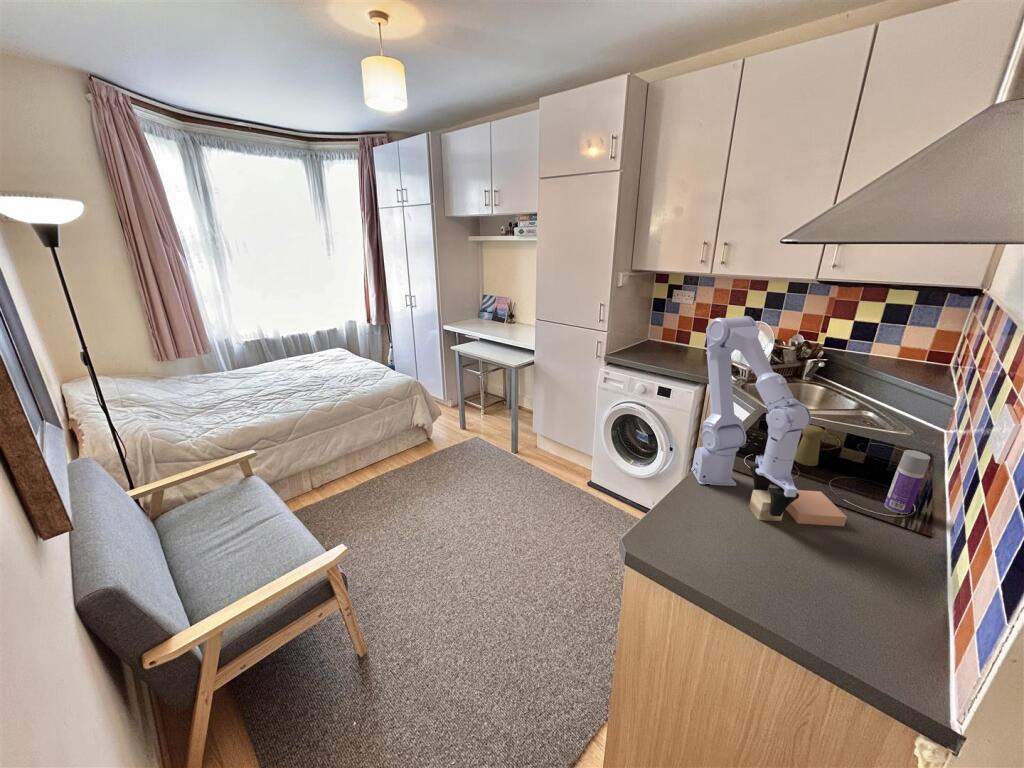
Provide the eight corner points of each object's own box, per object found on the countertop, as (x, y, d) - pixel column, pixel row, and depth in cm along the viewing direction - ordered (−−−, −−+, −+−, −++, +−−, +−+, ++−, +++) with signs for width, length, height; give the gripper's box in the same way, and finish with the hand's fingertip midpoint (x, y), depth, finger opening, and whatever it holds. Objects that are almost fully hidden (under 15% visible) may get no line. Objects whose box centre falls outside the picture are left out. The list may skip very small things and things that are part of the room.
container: (915, 514, 97) (937, 459, 92) (895, 514, 97) (916, 459, 92) (897, 502, 102) (917, 449, 97) (878, 502, 102) (898, 449, 97)
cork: (810, 456, 124) (819, 423, 120) (822, 466, 118) (832, 432, 114) (789, 455, 124) (797, 422, 120) (800, 465, 118) (809, 431, 115)
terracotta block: (797, 524, 95) (800, 514, 94) (775, 498, 104) (778, 488, 103) (843, 527, 94) (847, 517, 93) (817, 501, 103) (820, 491, 102)
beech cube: (758, 520, 96) (762, 502, 94) (749, 506, 100) (753, 489, 99) (780, 521, 95) (785, 503, 94) (770, 508, 100) (774, 490, 98)
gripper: (746, 439, 100) (736, 486, 104) (777, 470, 86) (764, 523, 90) (777, 440, 99) (765, 488, 103) (812, 472, 85) (797, 525, 90)
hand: (767, 505), depth 97 cm, fingers open, 7 cm apart
